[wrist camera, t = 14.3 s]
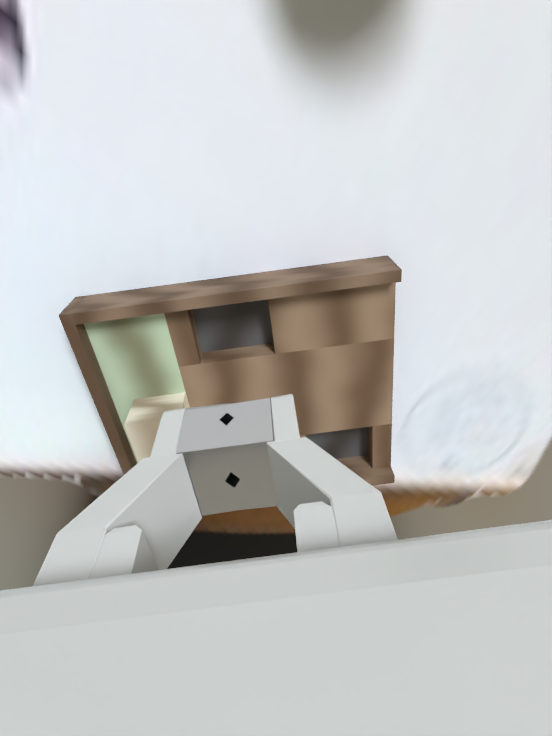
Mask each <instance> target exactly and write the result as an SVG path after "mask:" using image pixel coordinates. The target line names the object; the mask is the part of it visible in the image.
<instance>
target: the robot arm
mask: <svg viewBox="0 0 552 736" xmlns="http://www.w3.org/2000/svg"><path fill="white" fill-rule="evenodd" d="M273 506H277V507H278V509H279V510H280V511H281V512H282V514H283V515H284V516H285V517H286V518H287V520H288V521H289V522H290V523H291V524H292V526H293V527H294V528H295V531H296V541H297V551H298V553H290V554H282V555H274V556H266V557H258V558H251V559H242V560H234V561H227V562H220V563H211V564H204V565H196V566H188V567H180V568H173V569H167V568H168V566H169V565H170V563H171V562H172V560H173V559H174V558H175V556H176V555H177V553H178V552H179V550H180V549H181V548H182V546H183V545H184V543H185V542H186V540H187V539H188V537H189V536H190V534H191V533H192V532H193V530H194V529H195V527H196V526H197V524H198V523H199V521H200V520H201V519H202V516H203V515H210V514H216V513H222V512H229V511H235V510H243V509H253V508H263V507H273ZM0 736H552V520H548V521H540V522H533V523H526V524H518V525H509V526H502V527H493V528H486V529H478V530H471V531H463V532H455V533H447V534H441V535H432V536H425V537H417V538H410V539H402V540H398V539H397V536H396V534H395V531H394V528H393V525H392V523H391V520H390V517H389V514H388V511H387V508H386V505H385V502H384V500H383V497H382V494H381V492H380V491H378V490H377V489H376V488H374V487H373V486H372V485H370V484H369V483H368V482H366V481H365V480H363V479H362V478H361V477H359V476H358V475H357V474H355V473H354V472H353V471H351V470H350V469H349V468H347V467H346V466H345V465H343V464H342V463H341V462H339V461H338V460H337V459H335V458H334V457H332V456H331V455H330V454H328V453H327V452H326V451H324V450H323V449H322V448H320V447H319V446H318V445H316V444H315V443H314V442H312V441H311V440H310V439H308V438H307V437H303V438H300V435H299V429H298V422H297V416H296V410H295V404H294V398H293V395H292V394H288V395H282V396H276V397H271V398H265V399H258V400H252V401H245V402H238V403H232V404H229V403H227V404H218V405H209V406H200V407H191V408H187V409H186V408H182V409H175V410H167V411H165V412H164V413H163V414H162V417H161V420H160V424H159V427H158V431H157V434H156V438H155V441H154V445H153V448H152V452H151V455H150V457H149V458H143V459H142V460H141V461H140V462H139V463H137V464H136V465H135V466H134V467H133V468H132V469H131V470H129V471H128V472H127V473H126V474H125V475H124V476H123V477H121V478H120V479H119V480H118V481H117V482H116V483H114V484H113V485H112V486H111V487H110V488H109V489H108V490H106V491H105V492H104V493H103V494H102V495H101V496H99V497H98V498H97V499H96V500H95V501H94V502H93V503H91V504H90V505H89V506H88V507H87V508H86V509H84V510H83V511H82V512H81V513H80V514H79V515H78V516H76V517H75V518H74V519H73V520H72V521H71V522H70V523H68V524H67V525H66V526H65V527H64V528H63V529H62V530H60V531H59V532H58V533H57V534H56V536H55V539H54V541H53V543H52V545H51V547H50V550H49V552H48V554H47V556H46V558H45V560H44V563H43V565H42V567H41V569H40V571H39V574H38V576H37V578H36V580H35V582H34V584H33V586H31V587H24V588H16V589H8V590H1V591H0Z"/></svg>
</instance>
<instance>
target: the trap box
mask: <svg viewBox="0 0 552 736" xmlns="http://www.w3.org/2000/svg"><path fill="white" fill-rule="evenodd" d="M401 272H402V270H401V269H400V268H399V267H398V266H397V265H396V264H395V263H394V262H393V261H392V260H391V259H390V258H389V257H388V256H381V257H374V258H366V259H359V260H351V261H344V262H336V263H329V264H321V265H314V266H306V267H299V268H291V269H284V270H276V271H269V272H261V273H254V274H246V275H239V276H231V277H224V278H216V279H209V280H201V281H194V282H186V283H179V284H171V285H164V286H156V287H149V288H141V289H134V290H126V291H119V292H111V293H104V294H96V295H89V296H81V297H75V298H74V299H73V300H72V302H71V303H70V304H69V305H68V306H67V307H66V308H65V309H64V310H63V311H62V312H61V313H60V314H59V318H60V320H61V322H62V325H63V327H64V330H65V332H66V335H67V337H68V339H69V342H70V344H71V347H72V349H73V352H74V354H75V356H76V359H77V361H78V364H79V366H80V369H81V371H82V374H83V376H84V378H85V381H86V383H87V386H88V388H89V391H90V393H91V395H92V398H93V400H94V403H95V405H96V408H97V410H98V412H99V415H100V417H101V420H102V422H103V425H104V427H105V430H106V432H107V434H108V437H109V439H110V442H111V444H112V447H113V449H114V451H115V454H116V456H117V459H118V461H119V464H120V466H121V468H122V471H123V473H124V475H125V474H126V473H127V472H128V471H129V470H131V469H132V468H133V467H134V466H135V465H136V464H137V463H138V461H137V458H136V456H135V453H134V451H133V448H132V446H131V443H130V440H129V438H128V435H127V433H126V430H125V427H124V423H125V421H126V418H127V416H128V413H129V411H130V408H131V406H132V403H133V400H134V399H140V398H148V397H155V396H163V395H170V394H178V393H185V392H186V396H187V400H188V403H189V407H190V408H191V407H200V406H209V405H218V404H227V403H229V404H232V403H238V402H245V401H252V400H258V399H265V398H271V397H276V396H282V395H288V394H292V395H293V398H294V404H295V410H296V416H297V422H298V429H299V435H300V438H303V437H307V438H308V439H310V440H311V441H312V442H314V443H315V444H316V445H318V446H319V447H320V448H322V449H323V450H324V451H326V452H327V453H328V454H330V455H331V456H332V457H334V458H335V459H337V460H338V461H339V462H341V463H342V464H343V465H345V466H346V467H347V468H349V469H350V470H351V471H353V472H354V473H355V474H357V475H358V476H359V477H361V478H362V479H363V480H365V481H366V482H368V483H369V484H370V485H379V484H387V483H394V474H393V471H392V469H391V429H392V393H393V356H394V320H395V283H396V282H401Z"/></svg>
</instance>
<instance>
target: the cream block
mask: <svg viewBox="0 0 552 736" xmlns="http://www.w3.org/2000/svg"><path fill="white" fill-rule="evenodd" d="M182 408H186V409H187V408H190V407H189V403H188V400H187V396H186V392H185V393H178V394H170V395H163V396H155V397H148V398H140V399H134V400H133V403H132V406H131V408H130V411H129V413H128V416H127V418H126V421H125V423H124V427H125V430H126V433H127V435H128V438H129V440H130V443H131V446H132V448H133V451H134V453H135V456H136V458H137V461H138V463H139V462H140V461H141V460H142V459H143V458H149V457H150V455H151V452H152V448H153V445H154V441H155V438H156V434H157V431H158V427H159V424H160V420H161V417H162V414H163V413H164V412H165V411H167V410H175V409H182Z"/></svg>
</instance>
